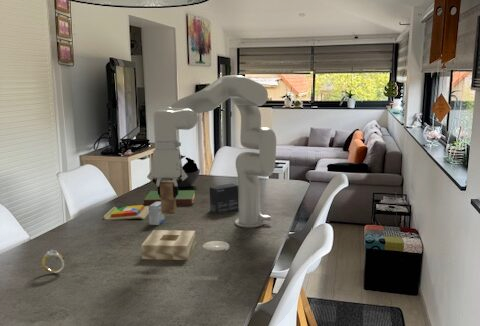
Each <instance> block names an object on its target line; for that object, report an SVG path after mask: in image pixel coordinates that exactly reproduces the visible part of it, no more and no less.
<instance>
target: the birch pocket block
mask: <svg viewBox="0 0 480 326" xmlns="http://www.w3.org/2000/svg"><path fill="white" fill-rule="evenodd" d="M196 244H197V243H196V230H176V229H175V230H172V229H171V230H170V229H169V230H168V229H165V230H163V229H153V230H152V231H151V233H149V235H148V236H147V237H146V239H145V240H144V241H143V243H142V244H141V245H140V246H141V260H165V261H167V260H172V261H174V260H175V261H176V260H177V261H188V260H189V258H190V256H191V255H192V252H193V250H194V247H195V246H196Z"/></svg>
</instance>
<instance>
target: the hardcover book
mask: <svg viewBox="0 0 480 326" xmlns="http://www.w3.org/2000/svg"><path fill="white" fill-rule="evenodd" d="M195 192H196V190H194V189H193V190H191V189H190V190H189V189H188V190H178V195H177V196H176V207H177V206H179V207H180V206H193V203H194V201H195V197H196V196H195V195H196V194H195ZM154 202H161V198H159V195H158V190H150V191H149V192H148V194H147V195H146V196H145V197H144V199H143V206H150V205H151V204H153V203H154Z"/></svg>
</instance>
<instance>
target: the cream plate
mask: <svg viewBox="0 0 480 326" xmlns="http://www.w3.org/2000/svg"><path fill="white" fill-rule="evenodd" d="M202 248H203V250H206V251H211V252H212V251H213V252H216V251H217V252H219V251H223V250H224V252H228V250H230V244H229V243H228V242H226V241H222V240H212V241H207V242H205V243H203V244H202Z"/></svg>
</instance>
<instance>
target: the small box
mask: <svg viewBox="0 0 480 326" xmlns="http://www.w3.org/2000/svg"><path fill="white" fill-rule="evenodd" d="M209 202H210V203H209V206H210V208H209V209H210V212H212V213H215V214H221V213H227V212H232V211H237V210H238V211H239V206H238V184H235V183H231V182H230V183H227V184H220V185H214V186H209Z"/></svg>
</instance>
